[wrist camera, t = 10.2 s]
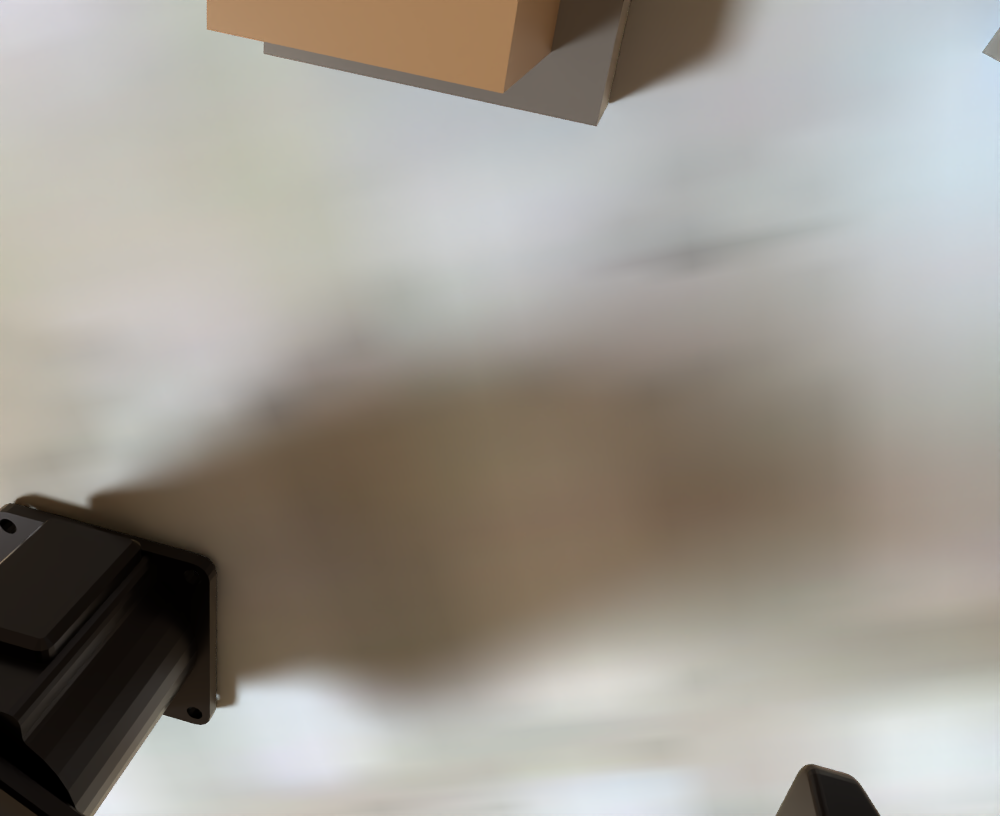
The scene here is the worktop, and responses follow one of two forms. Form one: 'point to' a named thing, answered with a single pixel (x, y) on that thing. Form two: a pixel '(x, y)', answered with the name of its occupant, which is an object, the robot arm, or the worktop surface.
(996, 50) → the slate base block
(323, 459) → the worktop surface
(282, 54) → the plinth
